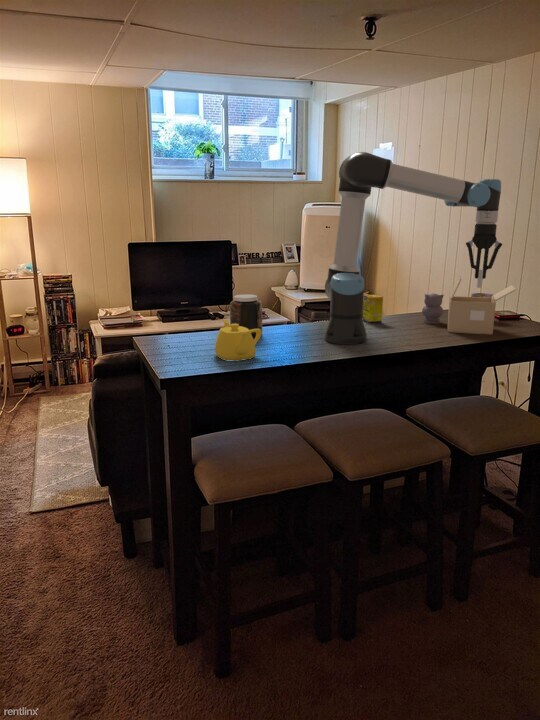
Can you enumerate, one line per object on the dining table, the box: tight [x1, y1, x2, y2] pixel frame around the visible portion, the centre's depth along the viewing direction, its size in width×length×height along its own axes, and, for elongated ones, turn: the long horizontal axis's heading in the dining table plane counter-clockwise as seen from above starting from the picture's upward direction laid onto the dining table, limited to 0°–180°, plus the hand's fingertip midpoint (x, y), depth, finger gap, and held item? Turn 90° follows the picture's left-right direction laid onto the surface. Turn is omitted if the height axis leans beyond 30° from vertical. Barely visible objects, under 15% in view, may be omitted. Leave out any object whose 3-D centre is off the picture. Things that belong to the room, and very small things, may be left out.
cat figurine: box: [421, 293, 445, 325], centre depth 227 cm, size 8×8×12 cm
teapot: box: [214, 319, 263, 360], centre depth 178 cm, size 22×16×11 cm
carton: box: [446, 295, 497, 335], centre depth 213 cm, size 16×12×12 cm
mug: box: [470, 292, 494, 298], centre depth 233 cm, size 12×9×11 cm
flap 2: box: [492, 284, 517, 303], centre depth 207 cm, size 8×11×1 cm
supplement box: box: [363, 294, 384, 324], centre depth 229 cm, size 6×6×11 cm
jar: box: [229, 294, 263, 339], centre depth 205 cm, size 12×12×15 cm
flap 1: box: [449, 275, 462, 300], centre depth 212 cm, size 8×11×1 cm
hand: (479, 287), depth 209 cm, fingers closed
